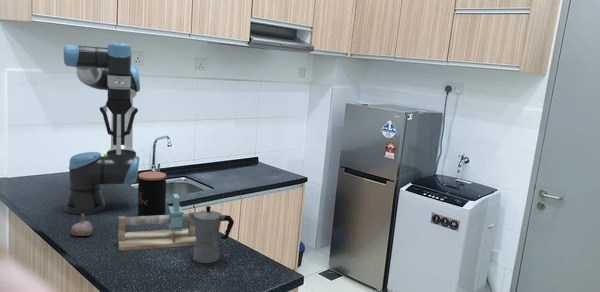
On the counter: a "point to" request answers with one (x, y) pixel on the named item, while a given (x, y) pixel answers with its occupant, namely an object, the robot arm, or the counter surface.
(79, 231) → the garlic bulb
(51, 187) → the counter surface
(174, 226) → the collar
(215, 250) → the coffeepot
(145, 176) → the coffee jar
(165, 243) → the pipe stand
